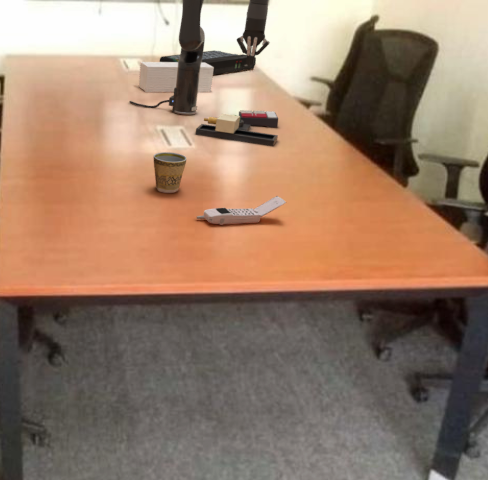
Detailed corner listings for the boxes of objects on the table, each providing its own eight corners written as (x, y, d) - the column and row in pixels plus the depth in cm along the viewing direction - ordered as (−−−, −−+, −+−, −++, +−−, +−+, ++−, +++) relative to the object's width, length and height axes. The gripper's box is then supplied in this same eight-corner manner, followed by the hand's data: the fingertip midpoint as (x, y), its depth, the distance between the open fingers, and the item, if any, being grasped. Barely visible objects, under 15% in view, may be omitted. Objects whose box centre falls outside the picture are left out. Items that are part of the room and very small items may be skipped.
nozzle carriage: (199, 132, 289) (201, 116, 286) (205, 126, 297) (207, 111, 294) (232, 137, 286) (234, 121, 283) (237, 131, 294) (240, 116, 290)
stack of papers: (202, 86, 364) (205, 62, 358) (210, 91, 355) (213, 67, 349) (138, 86, 355) (140, 61, 349) (145, 92, 347) (147, 66, 341)
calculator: (238, 109, 314) (275, 110, 313) (238, 120, 316) (274, 120, 316) (241, 115, 305) (278, 116, 304) (240, 126, 307) (277, 127, 307)
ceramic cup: (173, 197, 230) (176, 164, 224) (144, 189, 234) (147, 157, 228) (193, 186, 239) (197, 154, 233) (165, 179, 243) (168, 148, 238)
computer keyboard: (214, 60, 424) (216, 47, 420) (254, 69, 408) (256, 56, 404) (159, 67, 396) (160, 53, 393) (199, 78, 380) (200, 63, 377)
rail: (195, 134, 291) (196, 128, 290) (200, 129, 298) (201, 123, 296) (273, 146, 284) (274, 140, 282) (276, 141, 290) (277, 135, 289)
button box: (215, 129, 300) (216, 120, 298) (221, 123, 307) (222, 115, 305) (245, 133, 297) (247, 125, 295) (250, 128, 304) (251, 120, 302)
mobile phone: (288, 202, 214) (205, 205, 208) (284, 222, 218) (203, 226, 211) (278, 195, 219) (197, 198, 212) (275, 215, 222) (195, 218, 216)
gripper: (276, 17, 287) (267, 66, 297) (241, 13, 290) (234, 62, 300) (272, 19, 281) (264, 70, 291) (237, 15, 284) (230, 65, 294)
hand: (249, 66), depth 295 cm, fingers closed
